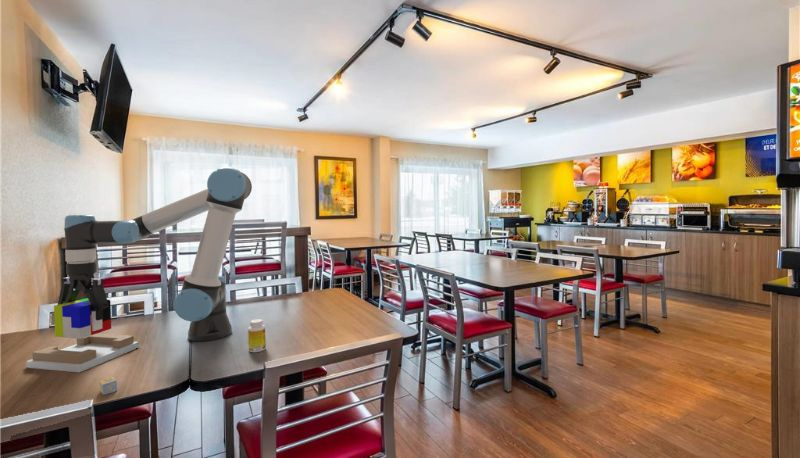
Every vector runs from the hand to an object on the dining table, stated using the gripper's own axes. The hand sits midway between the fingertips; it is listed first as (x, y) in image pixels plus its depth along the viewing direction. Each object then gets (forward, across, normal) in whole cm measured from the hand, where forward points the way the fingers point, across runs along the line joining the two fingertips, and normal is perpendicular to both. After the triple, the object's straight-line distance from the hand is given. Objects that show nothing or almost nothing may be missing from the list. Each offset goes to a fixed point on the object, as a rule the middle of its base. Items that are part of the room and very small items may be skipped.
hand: (84, 328), depth 119 cm
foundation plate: (+10, 0, 0) cm, 10 cm away
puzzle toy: (+2, 0, 0) cm, 2 cm away
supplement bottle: (+9, -53, -15) cm, 56 cm away
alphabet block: (+10, -30, +18) cm, 37 cm away
